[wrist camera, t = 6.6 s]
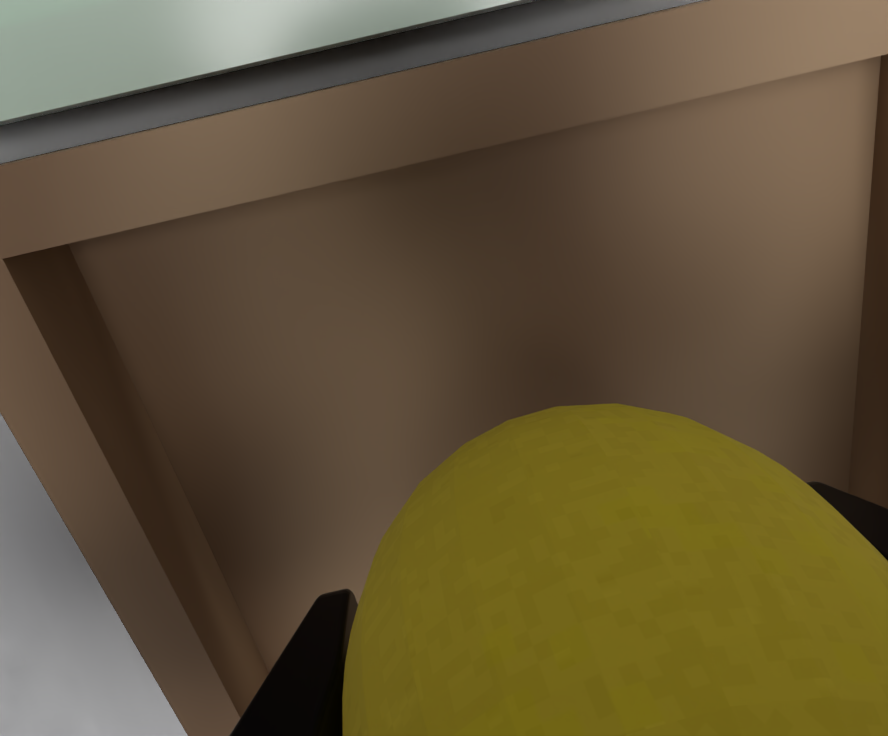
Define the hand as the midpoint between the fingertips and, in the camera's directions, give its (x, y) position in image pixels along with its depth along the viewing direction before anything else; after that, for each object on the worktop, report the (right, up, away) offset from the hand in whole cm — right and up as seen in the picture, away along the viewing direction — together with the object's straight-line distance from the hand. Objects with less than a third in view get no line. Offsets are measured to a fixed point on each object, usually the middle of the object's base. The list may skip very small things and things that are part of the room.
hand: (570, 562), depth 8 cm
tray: (0, +2, +4) cm, 4 cm away
